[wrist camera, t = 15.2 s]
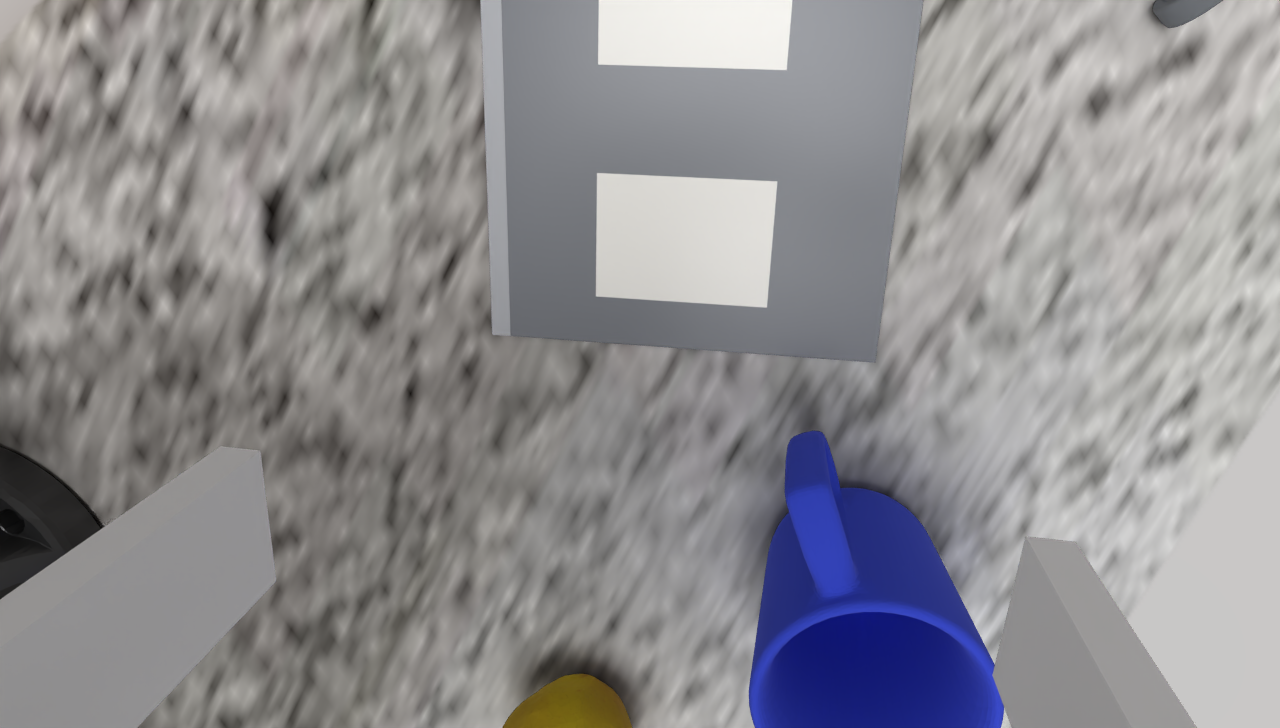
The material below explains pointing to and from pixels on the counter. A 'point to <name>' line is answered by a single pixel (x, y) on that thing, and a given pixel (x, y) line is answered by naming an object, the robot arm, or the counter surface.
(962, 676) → the mug
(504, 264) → the label panel
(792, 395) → the counter surface
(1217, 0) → the toy car
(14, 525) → the robot arm
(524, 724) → the apple
